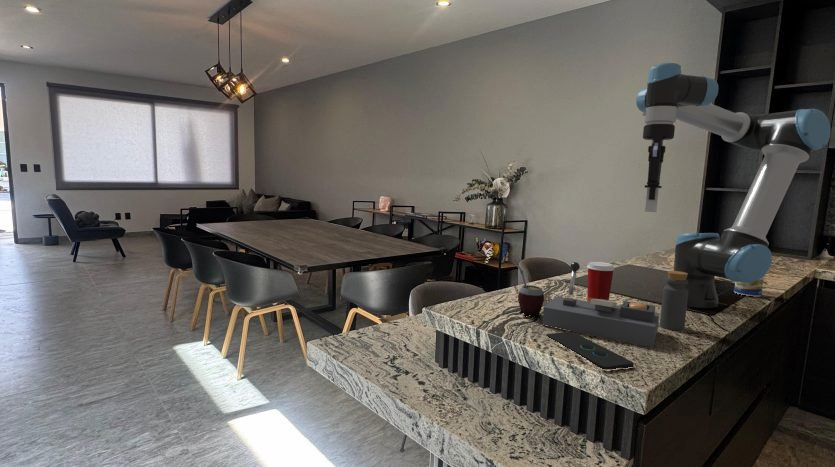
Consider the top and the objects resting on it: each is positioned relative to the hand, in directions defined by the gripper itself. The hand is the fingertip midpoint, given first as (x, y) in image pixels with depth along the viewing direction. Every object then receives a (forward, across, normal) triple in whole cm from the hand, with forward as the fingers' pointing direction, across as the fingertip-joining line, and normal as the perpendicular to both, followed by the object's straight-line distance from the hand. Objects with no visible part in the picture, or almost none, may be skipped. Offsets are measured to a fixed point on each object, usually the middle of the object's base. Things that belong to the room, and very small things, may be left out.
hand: (650, 211), depth 127 cm
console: (+30, +17, -8) cm, 36 cm away
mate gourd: (+31, +17, -27) cm, 44 cm away
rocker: (+23, +17, -8) cm, 30 cm away
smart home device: (+31, +37, -7) cm, 49 cm away
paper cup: (+31, -2, -12) cm, 33 cm away
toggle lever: (+23, +17, -16) cm, 32 cm away
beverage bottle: (+31, -59, +30) cm, 73 cm away
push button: (+25, +17, +1) cm, 30 cm away
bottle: (+31, +3, +8) cm, 32 cm away
